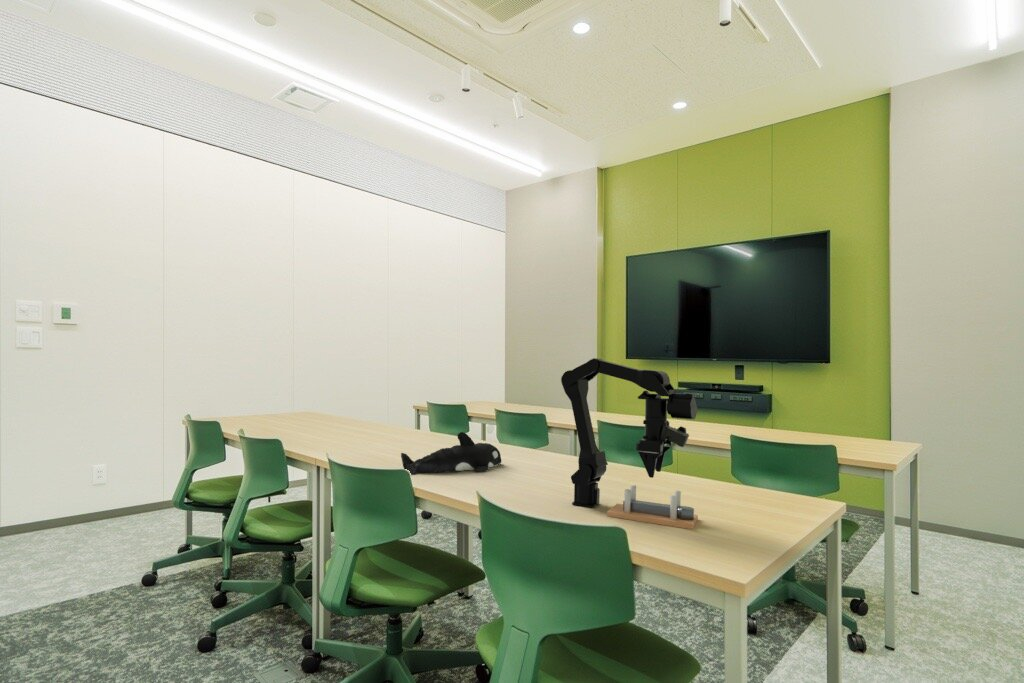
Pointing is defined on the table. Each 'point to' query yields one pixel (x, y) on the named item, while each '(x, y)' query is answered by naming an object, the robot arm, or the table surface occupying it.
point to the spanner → (660, 509)
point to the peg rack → (670, 521)
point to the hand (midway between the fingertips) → (654, 474)
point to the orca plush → (456, 458)
